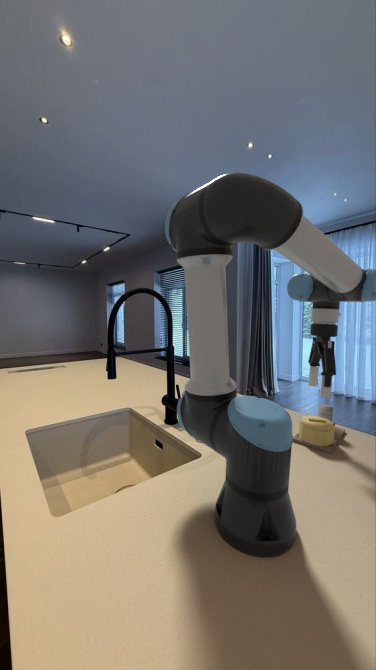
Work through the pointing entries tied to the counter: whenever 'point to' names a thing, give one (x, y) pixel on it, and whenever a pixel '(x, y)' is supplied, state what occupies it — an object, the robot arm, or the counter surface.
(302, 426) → the cap
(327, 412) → the post board
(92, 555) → the counter surface
